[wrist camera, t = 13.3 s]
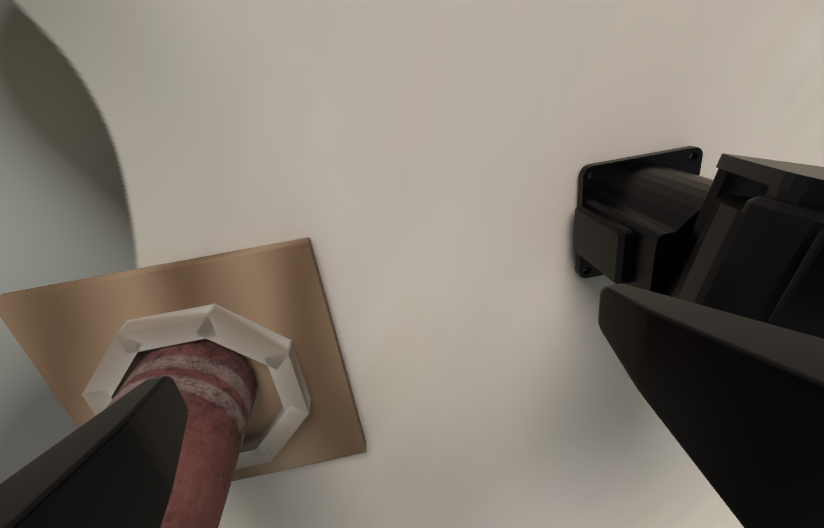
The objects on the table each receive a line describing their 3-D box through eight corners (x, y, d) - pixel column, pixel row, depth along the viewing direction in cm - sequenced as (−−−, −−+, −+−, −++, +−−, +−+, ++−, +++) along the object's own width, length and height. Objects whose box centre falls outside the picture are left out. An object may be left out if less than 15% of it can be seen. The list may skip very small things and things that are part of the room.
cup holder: (309, 237, 21) (305, 253, 19) (365, 442, 27) (366, 468, 26) (2, 293, 20) (-32, 315, 18) (137, 491, 26) (122, 521, 25)
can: (186, 436, 24) (8, 832, 12) (114, 357, 21) (-223, 769, 9) (281, 399, 24) (205, 762, 11) (221, 315, 21) (32, 674, 9)
